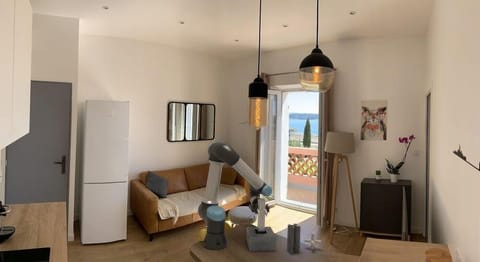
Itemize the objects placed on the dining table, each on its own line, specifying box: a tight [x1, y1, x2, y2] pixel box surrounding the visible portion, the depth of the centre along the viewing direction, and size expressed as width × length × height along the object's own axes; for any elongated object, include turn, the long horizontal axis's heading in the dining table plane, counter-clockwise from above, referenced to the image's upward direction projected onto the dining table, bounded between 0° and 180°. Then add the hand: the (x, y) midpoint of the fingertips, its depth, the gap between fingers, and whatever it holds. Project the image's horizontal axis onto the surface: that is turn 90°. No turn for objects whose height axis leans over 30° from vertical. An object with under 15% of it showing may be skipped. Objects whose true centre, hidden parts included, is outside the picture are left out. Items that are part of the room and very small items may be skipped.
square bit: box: [256, 197, 266, 231], centre depth 187 cm, size 4×4×20 cm
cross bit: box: [286, 223, 302, 255], centre depth 181 cm, size 8×8×16 cm
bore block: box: [246, 226, 277, 252], centre depth 188 cm, size 16×16×9 cm
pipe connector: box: [304, 232, 322, 250], centre depth 184 cm, size 10×10×10 cm
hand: (262, 214), depth 182 cm, fingers closed on square bit, 4 cm apart
